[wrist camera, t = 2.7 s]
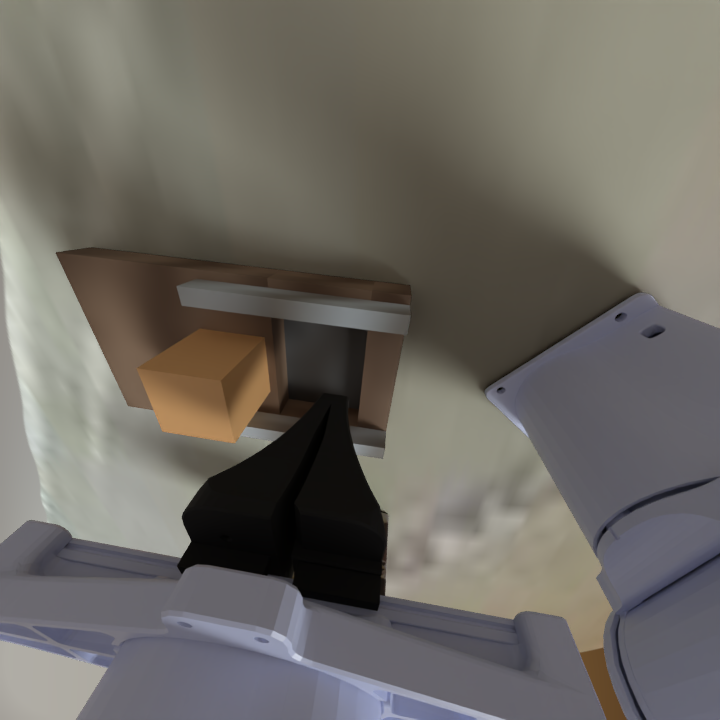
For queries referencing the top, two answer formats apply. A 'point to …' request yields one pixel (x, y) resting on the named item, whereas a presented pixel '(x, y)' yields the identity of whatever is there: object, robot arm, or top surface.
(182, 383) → the block
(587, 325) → the robot arm
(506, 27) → the top surface
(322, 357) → the trap channel
